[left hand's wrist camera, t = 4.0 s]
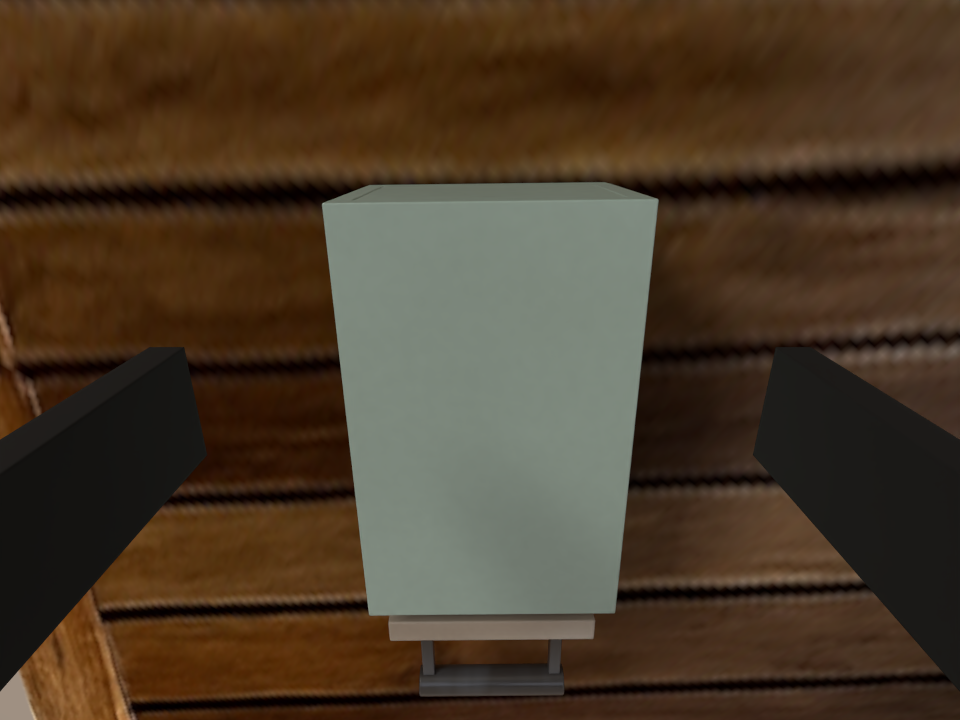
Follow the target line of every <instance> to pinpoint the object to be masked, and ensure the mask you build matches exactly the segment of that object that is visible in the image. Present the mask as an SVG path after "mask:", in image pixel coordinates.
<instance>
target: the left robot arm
mask: <svg viewBox="0 0 960 720" xmlns="http://www.w3.org/2000/svg"><path fill="white" fill-rule="evenodd" d="M206 455H207V453H206V448H205V443H204V439H203V434H202V429H201V425H200V420H199V415H198V411H197V406H196V401H195V396H194V392H193V387H192V382H191V378H190V373H189V368H188V364H187V359H186V354H185V349H184V347H149V348H148V349H146V350H144V351H143V352H141V353H140V354H138V355H136V356H135V357H133V358H131V359H130V360H128V361H127V362H125V363H123V364H122V365H120V366H119V367H117V368H115V369H114V370H112V371H110V372H109V373H107V374H106V375H104V376H102V377H101V378H99V379H98V380H96V381H94V382H93V383H91V384H89V385H88V386H86V387H85V388H83V389H81V390H80V391H78V392H77V393H75V394H73V395H72V396H70V397H68V398H67V399H65V400H64V401H62V402H60V403H59V404H57V405H56V406H54V407H52V408H51V409H49V410H47V411H46V412H44V413H43V414H41V415H39V416H38V417H36V418H35V419H33V420H31V421H30V422H28V423H26V424H25V425H23V426H22V427H20V428H18V429H17V430H15V431H14V432H12V433H10V434H9V435H7V436H5V437H4V438H2V439H1V440H0V691H1V690H2V689H3V688H4V686H5V685H6V684H7V683H8V682H9V681H10V680H11V678H12V677H13V676H14V675H15V674H16V673H17V672H18V670H19V669H20V668H21V667H22V666H23V665H24V664H25V662H26V661H27V660H28V659H29V658H30V657H31V656H32V654H33V653H34V652H35V651H36V650H37V649H38V648H39V646H40V645H41V644H42V643H43V642H44V641H45V640H46V638H47V637H48V636H49V635H50V634H51V633H52V632H53V630H54V629H55V628H56V627H57V626H58V625H59V624H60V622H61V621H62V620H63V619H64V618H65V617H66V616H67V614H68V613H69V612H70V611H71V610H72V609H73V608H74V606H75V605H76V604H77V603H78V602H79V601H80V600H81V598H82V597H83V596H84V595H85V594H86V593H87V592H88V590H89V589H90V588H91V587H92V586H93V585H94V584H95V582H96V581H97V580H98V579H99V578H100V577H101V575H102V574H103V573H104V572H105V571H106V570H107V569H108V567H109V566H110V565H111V564H112V563H113V562H114V561H115V559H116V558H117V557H118V556H119V555H120V554H121V553H122V551H123V550H124V549H125V548H126V547H127V546H128V545H129V543H130V542H131V541H132V540H133V539H134V538H135V537H136V535H137V534H138V533H139V532H140V531H141V530H142V529H143V527H144V526H145V525H146V524H147V523H148V522H149V521H150V519H151V518H152V517H153V516H154V515H155V514H156V513H157V511H158V510H159V509H160V508H161V507H162V506H163V505H164V503H165V502H166V501H167V500H168V499H169V498H170V497H171V495H172V494H173V493H174V492H175V491H176V490H177V489H178V487H179V486H180V485H181V484H182V483H183V482H184V481H185V479H186V478H187V477H188V476H189V475H190V474H191V473H192V471H193V470H194V469H195V468H196V467H197V466H198V465H199V463H200V462H201V461H202V460H203V459H204V458H205V457H206ZM753 455H754V457H755V458H756V459H757V460H758V461H759V462H760V463H761V465H762V466H763V467H764V468H765V469H766V470H767V471H768V473H769V474H770V475H771V476H772V477H773V478H774V479H775V481H776V482H777V483H778V484H779V485H780V486H781V487H782V489H783V490H784V491H785V492H786V493H787V494H788V495H789V497H790V498H791V499H792V500H793V501H794V502H795V503H796V505H797V506H798V507H799V508H800V509H801V510H802V511H803V513H804V514H805V515H806V516H807V517H808V518H809V519H810V521H811V522H812V523H813V524H814V525H815V526H816V527H817V529H818V530H819V531H820V532H821V533H822V534H823V535H824V537H825V538H826V539H827V540H828V541H829V542H830V543H831V545H832V546H833V547H834V548H835V549H836V550H837V551H838V553H839V554H840V555H841V556H842V557H843V558H844V559H845V561H846V562H847V563H848V564H849V565H850V566H851V567H852V569H853V570H854V571H855V572H856V573H857V574H858V576H859V577H860V578H861V579H862V580H863V581H864V582H865V584H866V585H867V586H868V587H869V588H870V589H871V590H872V592H873V593H874V594H875V595H876V596H877V597H878V598H879V600H880V601H881V602H882V603H883V604H884V605H885V606H886V608H887V609H888V610H889V611H890V612H891V613H892V614H893V616H894V617H895V618H896V619H897V620H898V621H899V622H900V624H901V625H902V626H903V627H904V628H905V629H906V630H907V632H908V633H909V634H910V635H911V636H912V637H913V638H914V640H915V641H916V642H917V643H918V644H919V645H920V646H921V648H922V649H923V650H924V651H925V652H926V653H927V654H928V656H929V657H930V658H931V659H932V660H933V661H934V662H935V664H936V665H937V666H938V667H939V668H940V669H941V670H942V672H943V673H944V674H945V675H946V676H947V677H948V678H949V680H950V681H951V682H952V683H953V684H954V685H955V686H956V688H957V689H958V690H959V691H960V440H959V439H958V438H956V437H955V436H953V435H951V434H950V433H948V432H946V431H945V430H943V429H942V428H940V427H938V426H937V425H935V424H934V423H932V422H930V421H929V420H927V419H925V418H924V417H922V416H921V415H919V414H917V413H916V412H914V411H913V410H911V409H909V408H908V407H906V406H904V405H903V404H901V403H900V402H898V401H896V400H895V399H893V398H892V397H890V396H888V395H887V394H885V393H883V392H882V391H880V390H879V389H877V388H875V387H874V386H872V385H871V384H869V383H867V382H866V381H864V380H862V379H861V378H859V377H858V376H856V375H854V374H853V373H851V372H850V371H848V370H846V369H845V368H843V367H841V366H840V365H838V364H837V363H835V362H833V361H832V360H830V359H829V358H827V357H825V356H824V355H822V354H820V353H819V352H817V351H816V350H814V349H812V348H811V347H776V349H775V354H774V359H773V364H772V368H771V373H770V378H769V382H768V387H767V392H766V396H765V401H764V406H763V411H762V415H761V420H760V425H759V429H758V434H757V439H756V443H755V448H754V453H753Z"/></svg>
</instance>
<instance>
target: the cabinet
mask: <svg viewBox="0 0 960 720" xmlns="http://www.w3.org/2000/svg"><path fill="white" fill-rule="evenodd" d="M322 208H323V217H324V226H325V234H326V243H327V252H328V260H329V269H330V278H331V287H332V295H333V304H334V313H335V322H336V330H337V339H338V348H339V356H340V365H341V374H342V383H343V391H344V400H345V409H346V417H347V426H348V435H349V444H350V452H351V461H352V470H353V479H354V487H355V496H356V505H357V513H358V522H359V531H360V540H361V548H362V557H363V566H364V575H365V583H366V592H367V601H368V609H369V615H472V614H583V613H615V609H616V599H617V590H618V580H619V571H620V561H621V552H622V542H623V532H624V523H625V513H626V504H627V494H628V485H629V475H630V466H631V456H632V447H633V437H634V428H635V418H636V409H637V399H638V390H639V380H640V371H641V361H642V352H643V342H644V333H645V323H646V314H647V304H648V295H649V285H650V276H651V266H652V257H653V247H654V238H655V228H656V219H657V209H658V199H656V198H653V197H650V196H647V195H644V194H641V193H637V192H634V191H631V190H628V189H625V188H622V187H619V186H616V185H613V184H609V183H606V182H585V183H504V184H423V185H369V186H366V187H363V188H361V189H358V190H356V191H353V192H351V193H348V194H345V195H343V196H340V197H338V198H335V199H333V200H330V201H327V202H324V203H322Z"/></svg>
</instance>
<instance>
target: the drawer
mask: <svg viewBox="0 0 960 720" xmlns="http://www.w3.org/2000/svg"><path fill="white" fill-rule="evenodd" d="M388 624H389V634H390V640H391V641H416V640H421V647H422V661H423V665H421V669H420V680H419V692H420V696H534V695H564V675H563V668H562V664H561V663H560V660H561V643H562V639H593V638H594V629H595V618H594V614H593V613H583V614H472V615H390V617H389V622H388ZM529 639H549V642H548V663H542V664H435V649H434V640H529Z"/></svg>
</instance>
